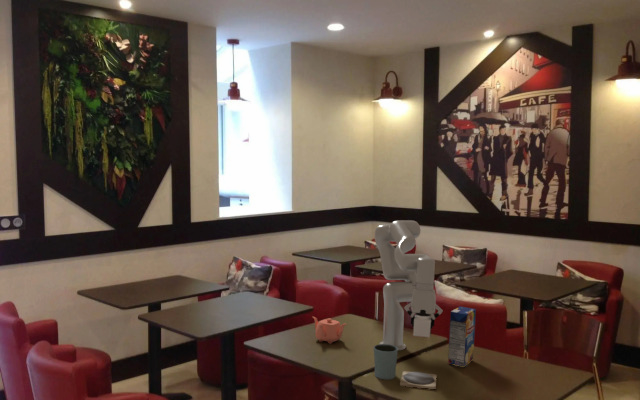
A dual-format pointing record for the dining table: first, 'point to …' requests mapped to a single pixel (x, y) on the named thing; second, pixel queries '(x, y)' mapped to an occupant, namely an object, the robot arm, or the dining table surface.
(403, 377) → the board
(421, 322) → the medicine bottle
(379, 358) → the blue-grey cup
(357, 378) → the dining table surface
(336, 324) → the teapot
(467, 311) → the juice carton
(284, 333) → the dining table surface
